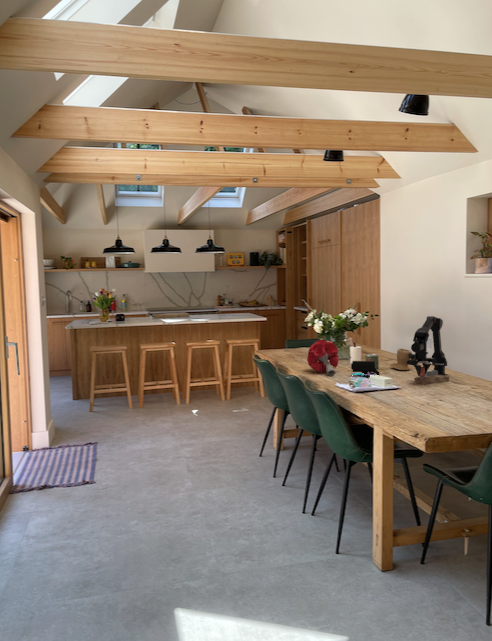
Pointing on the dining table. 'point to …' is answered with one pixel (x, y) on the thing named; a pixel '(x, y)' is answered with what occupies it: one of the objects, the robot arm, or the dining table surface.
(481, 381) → the dining table surface
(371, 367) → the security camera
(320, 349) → the bouquet
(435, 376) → the beam
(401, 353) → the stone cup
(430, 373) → the stud finder
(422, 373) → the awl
